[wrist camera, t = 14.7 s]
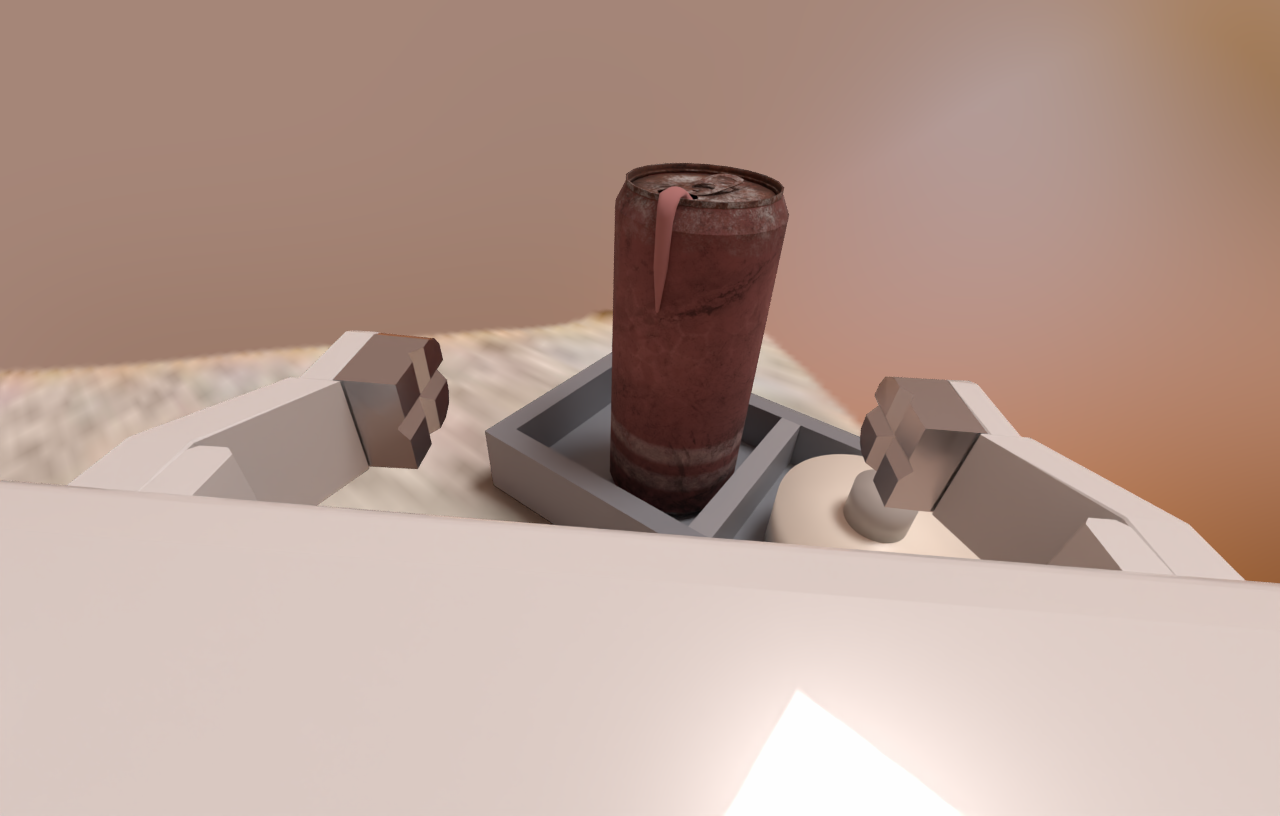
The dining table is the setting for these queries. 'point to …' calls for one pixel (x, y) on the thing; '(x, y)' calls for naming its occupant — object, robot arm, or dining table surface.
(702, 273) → the can
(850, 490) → the cream knobbed oval piece
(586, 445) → the tray
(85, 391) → the dining table surface
